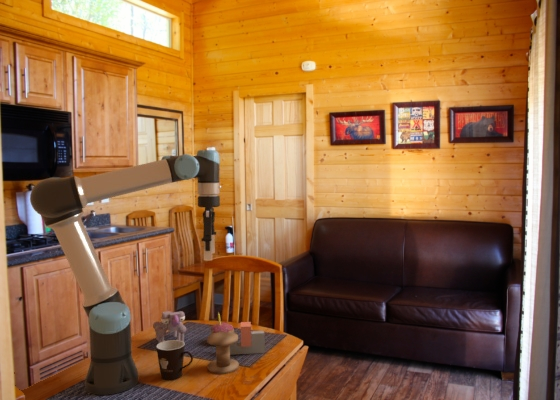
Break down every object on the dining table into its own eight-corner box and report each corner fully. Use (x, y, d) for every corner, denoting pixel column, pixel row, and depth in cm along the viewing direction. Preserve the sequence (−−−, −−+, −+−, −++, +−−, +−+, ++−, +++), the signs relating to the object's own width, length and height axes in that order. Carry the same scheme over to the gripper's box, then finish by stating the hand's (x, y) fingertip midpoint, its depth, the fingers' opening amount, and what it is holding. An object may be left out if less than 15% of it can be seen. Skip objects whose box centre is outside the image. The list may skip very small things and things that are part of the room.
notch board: (224, 354, 169) (223, 334, 168) (224, 352, 171) (224, 332, 171) (264, 352, 170) (264, 333, 169) (264, 350, 172) (264, 330, 172)
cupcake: (224, 348, 175) (223, 315, 174) (206, 343, 179) (205, 311, 179) (238, 340, 182) (238, 309, 181) (220, 336, 187) (220, 306, 186)
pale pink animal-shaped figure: (195, 351, 172) (192, 313, 171) (164, 358, 167) (161, 320, 166) (180, 334, 190) (177, 300, 189) (152, 340, 185) (149, 305, 184)
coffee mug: (152, 375, 152) (151, 344, 152) (177, 368, 158) (176, 338, 157) (170, 388, 144) (169, 355, 143) (195, 379, 149) (194, 347, 148)
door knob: (206, 374, 153) (205, 343, 152) (208, 362, 163) (207, 332, 162) (238, 373, 153) (238, 342, 153) (238, 360, 163) (238, 331, 163)
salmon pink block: (241, 346, 168) (240, 326, 167) (241, 341, 173) (240, 322, 172) (251, 346, 168) (250, 326, 168) (250, 341, 173) (250, 321, 173)
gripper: (217, 197, 155) (218, 263, 157) (221, 193, 180) (221, 250, 182) (194, 197, 155) (194, 263, 156) (200, 193, 180) (201, 250, 181)
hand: (209, 256), depth 169 cm, fingers open, 13 cm apart
